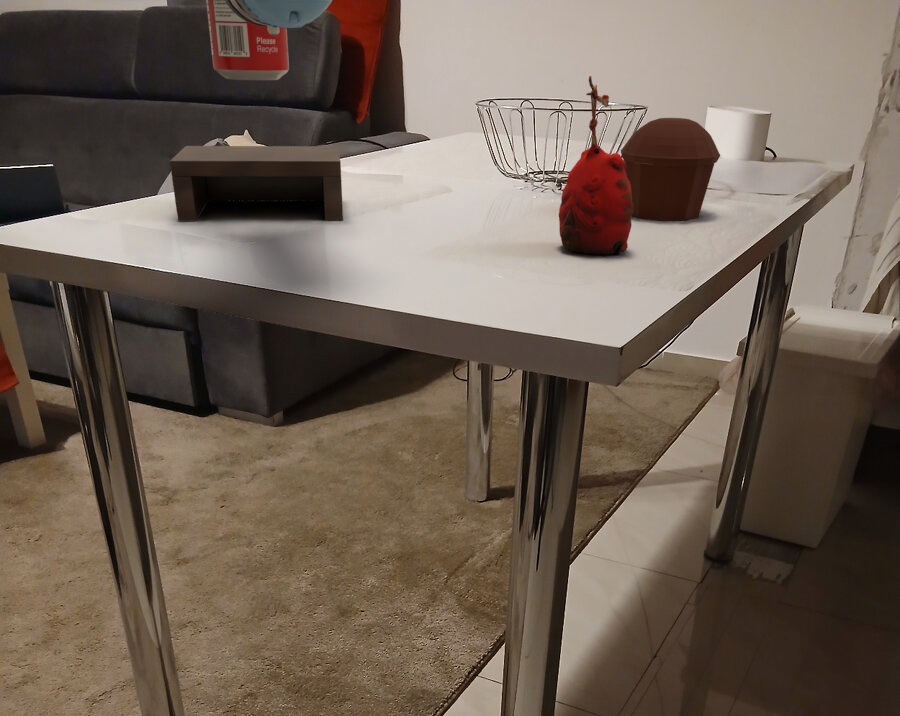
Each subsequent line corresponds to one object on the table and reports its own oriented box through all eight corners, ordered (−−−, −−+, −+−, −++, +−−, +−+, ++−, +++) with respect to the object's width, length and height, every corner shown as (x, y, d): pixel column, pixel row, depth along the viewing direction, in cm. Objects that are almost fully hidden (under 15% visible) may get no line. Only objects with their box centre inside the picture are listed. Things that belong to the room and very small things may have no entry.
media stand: (177, 221, 98) (169, 160, 95) (192, 200, 110) (185, 145, 107) (343, 220, 100) (340, 161, 97) (339, 199, 112) (337, 146, 109)
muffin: (692, 226, 101) (707, 125, 95) (600, 216, 105) (609, 119, 100) (721, 211, 109) (736, 118, 104) (634, 202, 114) (645, 113, 109)
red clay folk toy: (644, 253, 88) (666, 76, 80) (594, 261, 85) (612, 77, 77) (588, 239, 93) (604, 72, 85) (539, 247, 90) (550, 73, 82)
